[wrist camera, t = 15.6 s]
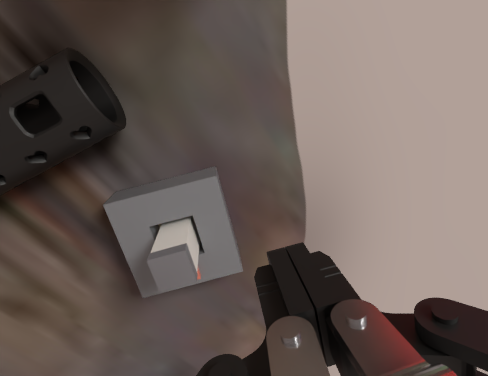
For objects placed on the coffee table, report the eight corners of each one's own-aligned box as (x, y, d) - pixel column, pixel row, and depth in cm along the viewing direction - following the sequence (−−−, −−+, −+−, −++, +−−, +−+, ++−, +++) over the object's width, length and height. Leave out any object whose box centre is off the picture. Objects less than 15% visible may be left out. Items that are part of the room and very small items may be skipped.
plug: (163, 217, 40) (146, 260, 29) (192, 210, 40) (185, 250, 30) (172, 243, 41) (159, 292, 31) (200, 235, 41) (197, 282, 31)
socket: (116, 191, 39) (100, 207, 34) (215, 166, 40) (216, 177, 34) (150, 276, 44) (141, 302, 38) (239, 252, 44) (243, 274, 39)
